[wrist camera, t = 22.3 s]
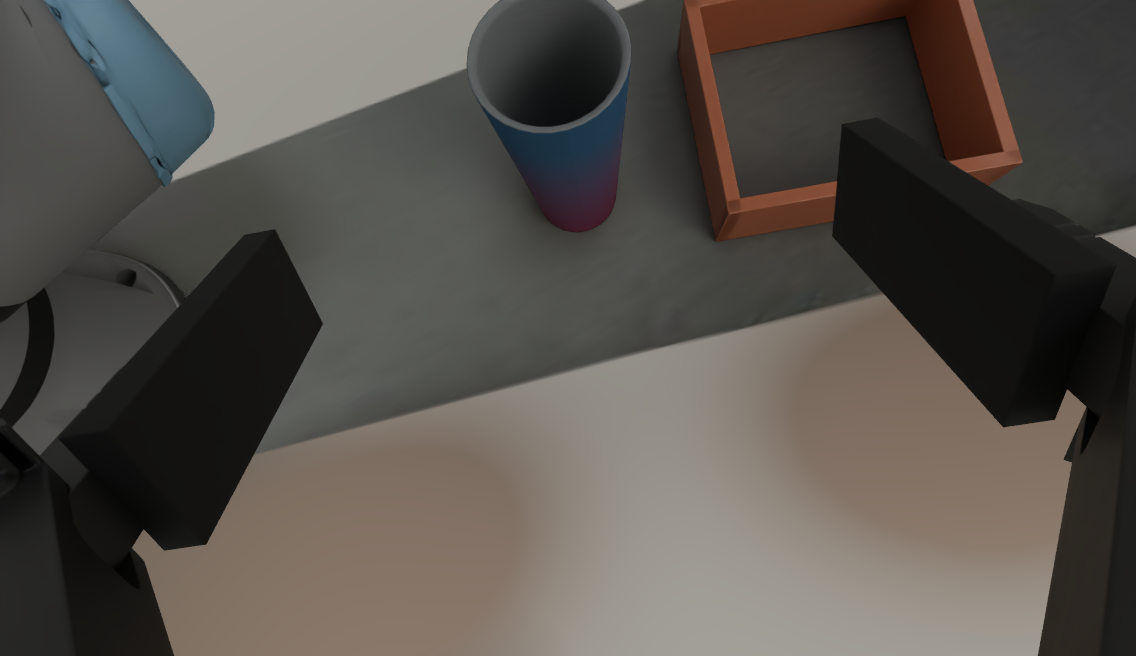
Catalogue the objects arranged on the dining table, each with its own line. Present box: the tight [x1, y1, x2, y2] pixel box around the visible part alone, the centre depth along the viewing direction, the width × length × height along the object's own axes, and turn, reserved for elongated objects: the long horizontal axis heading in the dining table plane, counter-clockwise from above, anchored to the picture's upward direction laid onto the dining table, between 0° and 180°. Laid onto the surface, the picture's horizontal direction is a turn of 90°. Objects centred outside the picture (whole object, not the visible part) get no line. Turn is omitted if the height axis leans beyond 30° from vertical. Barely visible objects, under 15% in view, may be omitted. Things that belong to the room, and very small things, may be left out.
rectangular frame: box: [677, 0, 1023, 241], centre depth 36 cm, size 16×14×5 cm
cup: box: [467, 0, 631, 232], centre depth 32 cm, size 7×7×15 cm
